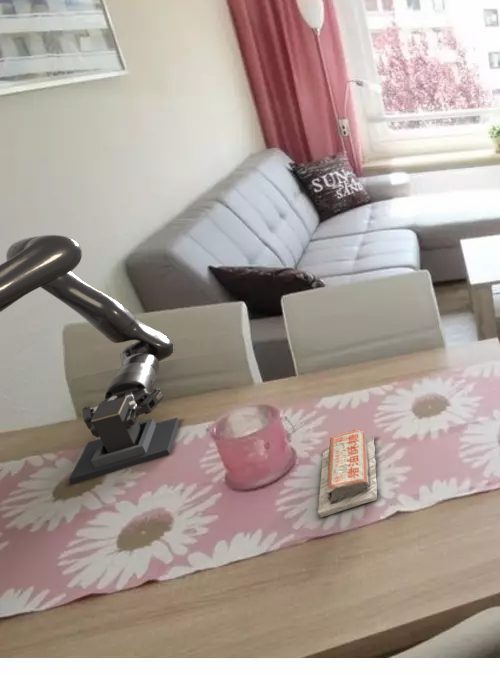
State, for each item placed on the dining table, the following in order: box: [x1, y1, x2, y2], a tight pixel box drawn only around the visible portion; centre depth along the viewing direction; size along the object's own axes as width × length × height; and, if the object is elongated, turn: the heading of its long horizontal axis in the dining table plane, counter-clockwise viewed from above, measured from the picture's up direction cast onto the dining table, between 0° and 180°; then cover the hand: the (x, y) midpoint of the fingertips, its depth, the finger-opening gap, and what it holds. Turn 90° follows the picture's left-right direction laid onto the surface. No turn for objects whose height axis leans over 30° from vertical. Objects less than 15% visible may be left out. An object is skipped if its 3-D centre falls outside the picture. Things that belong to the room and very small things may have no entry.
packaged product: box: [317, 429, 378, 518], centre depth 105 cm, size 18×5×10 cm
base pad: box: [68, 417, 180, 485], centre depth 114 cm, size 16×12×4 cm
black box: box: [91, 397, 143, 453], centre depth 112 cm, size 4×6×10 cm
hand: (112, 428), depth 109 cm, fingers closed on black box, 4 cm apart
